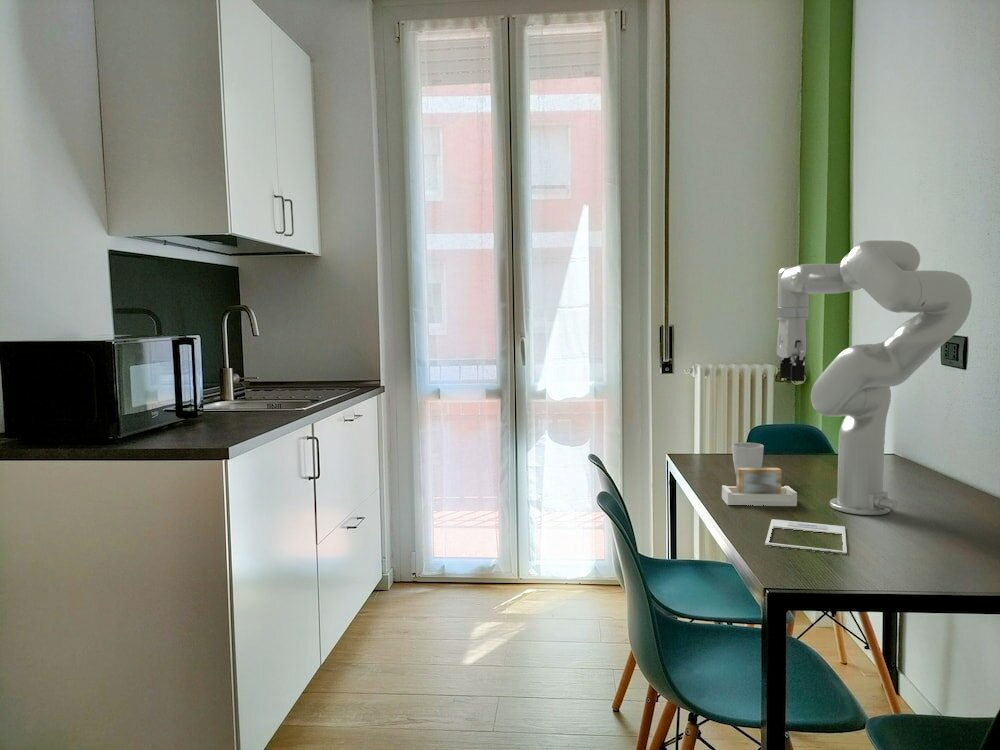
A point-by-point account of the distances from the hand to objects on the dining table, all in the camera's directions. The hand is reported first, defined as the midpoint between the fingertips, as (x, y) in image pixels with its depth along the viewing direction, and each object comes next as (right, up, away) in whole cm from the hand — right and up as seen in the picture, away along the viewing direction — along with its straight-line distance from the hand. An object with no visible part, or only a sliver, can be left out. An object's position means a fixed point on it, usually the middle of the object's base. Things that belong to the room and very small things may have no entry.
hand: (791, 379), depth 187 cm
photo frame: (-14, -33, -41) cm, 55 cm away
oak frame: (-14, -29, -14) cm, 35 cm away
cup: (-9, -28, +7) cm, 30 cm away
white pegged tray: (-14, -30, -14) cm, 36 cm away
